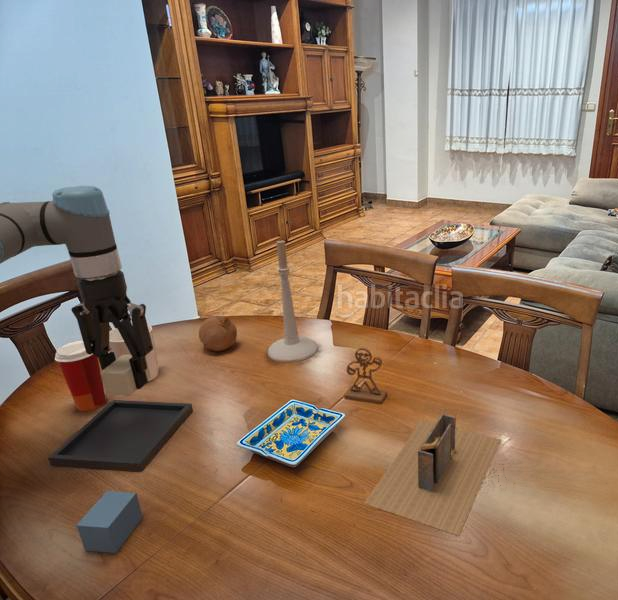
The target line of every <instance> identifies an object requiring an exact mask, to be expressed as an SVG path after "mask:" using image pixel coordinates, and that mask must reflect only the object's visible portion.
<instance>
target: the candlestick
mask: <svg viewBox="0 0 618 600" xmlns="http://www.w3.org/2000/svg"><path fill="white" fill-rule="evenodd" d="M275 243H276V251H277V261H278V266H277V267H276V268H275V270H276V271H278V276H279V277H280V279H281V281H280V286H281V287H280V288H281V301H282V303H281V304H282V318H283V336H284V337H283V338H280V339H277V341H274V342H273V343H272V344H271V345H270V346H269V347H268V348H267V356H268V357H269V358H270V359H271V360H273V361H275V362H279V363H296V362H301V361H304V360H308V359H309V358H311V357H313V356H314V355H315V354H316V353H317V352H318V349H319V347H318V346H319V345H318V343H317V342H316V340H314V339H312V338H309V337H307V336H303V335H302V336H301V335H300V336H299V331H298V325H297V320H296V314H295V307H294V301H293V296H292V291H291V284H290V280H289V275H290V273H291V272H290V269H292V266H290V265H288V259H287V249H286V242H285V240H282V239H280V240H277V241H276V242H275Z"/></svg>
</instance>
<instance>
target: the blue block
mask: <svg viewBox="0 0 618 600" xmlns="http://www.w3.org/2000/svg"><path fill="white" fill-rule="evenodd" d="M143 517H144V515H143V512H142V509H141V505H140V501H139V498H138V493H137V492H130V491H129V492H128V491H117V490H116V491H115V490H106V491H105V492H104V494H103V495H102V496H101V497H100V498H99V499H98V500H97V501H96V502H95V504H93V506H92V507H91V508H90V509H89V510H88V511H87V513H85V515H84V516H83V517H82V518H81V519H80V521H79V522H78V523H77V524H76V530H77V531H78V534H79V538H80V540H81V543H82V546H83V549H84V551H86V552H98V553H99V552H100V553H109V554H110V553H111V554H117V552H118V551H119V549H120V548H121V547H122V546H123V545H124V544H125V542H126V541H127V539H128V538H129V537H130V535H131V534H132V532H133V531H134V530H135V528H136V527H137V526H138V524H139V523H140V522H141V520H142V519H143Z"/></svg>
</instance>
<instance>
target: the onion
mask: <svg viewBox="0 0 618 600" xmlns="http://www.w3.org/2000/svg"><path fill="white" fill-rule="evenodd" d="M237 337H238V329H237V327H236V325H235V324H234V322H233V321H232V320H231V319H230V318H228V317H224V316H219V315H217V316H216V315H214V316H211V317H208V318H206V319H204V321H203V322H201V325H200V327H199V330H198V338H199V341H200V343H202V344H203V347H204V348H206V349H208V350H210V351H213V352H216V353H218V352H222V351H225V350H227V349H229V348H230V347H232V346H233V345H234V343H235V342H236V339H237Z"/></svg>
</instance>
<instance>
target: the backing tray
mask: <svg viewBox="0 0 618 600" xmlns="http://www.w3.org/2000/svg"><path fill="white" fill-rule="evenodd" d="M192 412H194V409H193V404H192V403H183V402H164V401H163V402H162V401H146V400H144V401H143V400H142V401H141V400H125V399H123V400H122V399H113V400H112V401H110V402H109V403H108V404H107V405H106V406H105V407H104V408H102V409H101V410H100V411H99V412H98V413H97V414H95V415H94V416H93V417H92V418H91V419H89V421H88V422H86V423H85V424H84V425H83V426H82V427H81V428H80V429H78V430H77V431H76V432H75V433H74V434H73V435H72V436H70V437H69V439H67V440H66V441H65V442H64V443H63V444H62V445H60V446H59V447H58V448H57V449H56V450H55V451H53V452H52V453H51V454H50V455H49V456H48V457H47V459H48V462H49V465H50V466H51V467H52V466H53V467H69V468H81V469H82V468H84V469H98V470H114V471H125V472H126V471H129V472H143V470H144V469H145V468H146V467H147V466H148V465H149V464H150V462H151V461H152V460H153V459H154V457H156V455H157V454H158V453H159V452H160V451H161V449H162V448H163V447H164V446H165V445H166V444H167V442H168V441H169V440H170V439H171V438H172V436H173V435H174V434H175V433H176V432H177V430H179V428H180V427H181V426H182V425H183V423H184V422H185V421H186V420H187V419H188V417H189V416H190V415H191V414H192Z"/></svg>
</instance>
